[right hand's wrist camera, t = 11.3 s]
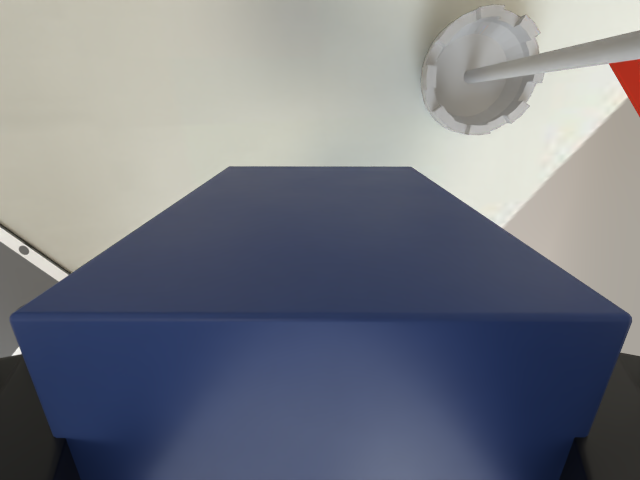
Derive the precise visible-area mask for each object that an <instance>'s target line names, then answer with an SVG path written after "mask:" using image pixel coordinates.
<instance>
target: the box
mask: <svg viewBox="0 0 640 480" xmlns="http://www.w3.org/2000/svg"><path fill="white" fill-rule="evenodd" d="M9 321H10V324H11V327H12V329H13V332H14V334H15V337H16V340H17V342H18V345H19V348H20V350H21V353H22V355H23V358H24V361H25V363H26V366H27V369H28V371H29V374H30V376H31V379H32V382H33V384H34V387H35V390H36V392H37V395H38V397H39V400H40V403H41V405H42V408H43V411H44V413H45V416H46V418H47V421H48V424H49V426H50V429H51V432H52V434H53V436H54V437H56V438H66V441H67V443H68V446H69V449H70V452H71V454H72V457H73V460H74V462H75V465H76V468H77V471H78V473H79V476H80V479H81V480H559V479H560V476H561V473H562V470H563V468H564V465H565V462H566V460H567V457H568V454H569V451H570V449H571V446H572V443H573V440H574V438H575V437H586V436H588V434H589V432H590V429H591V426H592V424H593V421H594V419H595V416H596V413H597V411H598V408H599V406H600V403H601V401H602V398H603V395H604V393H605V390H606V388H607V385H608V382H609V380H610V377H611V375H612V372H613V369H614V367H615V364H616V362H617V359H618V357H619V354H620V351H621V349H622V346H623V344H624V341H625V338H626V336H627V333H628V331H629V328H630V325H631V323H632V317H631V316H630V314H628V313H627V312H625V311H624V310H622V309H621V308H619V307H618V306H616V305H615V304H614V303H612V302H611V301H609V300H608V299H606V298H605V297H603V296H602V295H600V294H599V293H597V292H596V291H594V290H593V289H591V288H590V287H588V286H587V285H585V284H584V283H582V282H581V281H579V280H578V279H576V278H575V277H574V276H572V275H571V274H569V273H568V272H566V271H565V270H563V269H562V268H560V267H559V266H557V265H556V264H554V263H553V262H551V261H550V260H548V259H547V258H545V257H544V256H542V255H541V254H539V253H538V252H537V251H535V250H534V249H532V248H530V247H529V246H528V245H526V244H525V243H523V242H522V241H520V240H519V239H517V238H516V237H514V236H513V235H511V234H510V233H508V232H507V231H505V230H504V229H502V228H501V227H499V226H498V225H497V224H495V223H494V222H492V221H491V220H489V219H488V218H486V217H485V216H483V215H482V214H480V213H479V212H477V211H476V210H474V209H473V208H471V207H470V206H468V205H467V204H465V203H464V202H462V201H461V200H459V199H458V198H457V197H455V196H454V195H452V194H451V193H449V192H448V191H446V190H445V189H443V188H442V187H440V186H439V185H437V184H436V183H434V182H433V181H431V180H430V179H428V178H427V177H425V176H424V175H422V174H421V173H419V172H418V171H417V170H415V169H414V168H412V167H228V168H226V169H225V170H223V171H222V172H220V173H219V174H217V175H216V176H215V177H213V178H212V179H210V180H209V181H207V182H206V183H204V184H203V185H201V186H200V187H198V188H197V189H195V190H194V191H192V192H191V193H189V194H188V195H186V196H185V197H183V198H182V199H181V200H179V201H178V202H176V203H175V204H173V205H172V206H170V207H169V208H167V209H166V210H164V211H163V212H161V213H160V214H158V215H157V216H155V217H154V218H152V219H151V220H149V221H148V222H146V223H145V224H144V225H142V226H141V227H139V228H138V229H136V230H135V231H133V232H132V233H130V234H129V235H127V236H126V237H124V238H123V239H121V240H120V241H118V242H117V243H115V244H114V245H112V246H111V247H110V248H108V249H107V250H105V251H104V252H102V253H101V254H99V255H98V256H96V257H95V258H93V259H92V260H90V261H89V262H87V263H86V264H84V265H83V266H81V267H80V268H78V269H77V270H75V271H74V272H73V273H71V274H70V275H68V276H67V277H65V278H64V279H62V280H61V281H59V282H58V283H56V284H55V285H53V286H52V287H50V288H49V289H47V290H46V291H44V292H43V293H41V294H40V295H39V296H37V297H36V298H34V299H33V300H31V301H30V302H28V303H27V304H25V305H24V306H22V307H21V308H19V309H18V310H16V311H15V312H13V313H12V314H11V316H10V319H9Z"/></svg>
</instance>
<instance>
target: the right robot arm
mask: <svg viewBox="0 0 640 480" xmlns="http://www.w3.org/2000/svg"><path fill="white" fill-rule="evenodd" d="M23 306H24V305H23ZM21 307H22V306H21ZM21 307H20V308H21ZM18 309H19V308H18ZM18 309H17V310H18ZM0 480H81V479H80V476H79V473H78V471H77V468H76V465H75V462H74V460H73V457H72V454H71V452H70V449H69V446H68V443H67V441H66V438H56V437H54V436H53V434H52V432H51V429H50V426H49V424H48V421H47V418H46V416H45V413H44V411H43V408H42V405H41V403H40V400H39V397H38V395H37V392H36V390H35V387H34V384H33V382H32V379H31V376H30V374H29V371H28V369H27V366H26V363H25V361H24V358H23V355H22V354H19V355H14V356H8V357H3V358H0ZM559 480H640V356H635V355H630V354H625V353H620V354H619V357H618V359H617V362H616V364H615V367H614V369H613V372H612V375H611V377H610V380H609V382H608V385H607V388H606V390H605V393H604V395H603V398H602V401H601V403H600V406H599V408H598V411H597V413H596V416H595V419H594V421H593V424H592V426H591V429H590V432H589V434H588V436H586V437H575V438H574V440H573V443H572V446H571V449H570V451H569V454H568V457H567V460H566V462H565V465H564V468H563V470H562V473H561V476H560V479H559Z"/></svg>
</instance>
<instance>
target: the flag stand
mask: <svg viewBox="0 0 640 480" xmlns="http://www.w3.org/2000/svg"><path fill="white" fill-rule="evenodd" d="M504 7H505V5H488V6H482V7H479V8H478V9H476V10H474V11H471V12H469V13H466V14H464V15H462V16H461V17H459V18H458V19H456V20H455V21H453V22H452V23H450V24H449V25H448V26H447V27H446V28H445V29H443V30H442V31H441V32H440V33H439V35H438V36H437V37H436V39H435V40H434V41H433V43H432V45H431V46H430V48H429V50H428V52H427V54H426V57H425V60H424V64H423V67H422V74H421V91H422V95H423V100H424V103H425V105H426V107H427V109H428V111H429V113H430V114H431V115H432V117H433V118H434V119H435V120H436V121H437V122H438V123H439V124H441V125H442V126H443V127H445V128H447V129H449V130H451V131H454V132H458V133H462V134H468V135H483V134H490V131H492V130H495V129H497V128H499V127H501V126H502V125H504V124H506V123H513V122H514V121H515V120H517V119H518V118H519V117H520V116H521V115H522V114H523V113H524V112H525V111H526V110H527V109H528V107H529V106H530V105H528V104H527V103H526V102H527V101H528V99H529V98H530V96H531V94H532V92H533V90H534V87H535V85H536V83H542V81H543V77H544V73H546V72H553V71H560V70H567V69H574V68H581V67H588V66H595V65H602V64H609V65H610V67H611V68H612V70H613V72H614V73H615V75H616V77H617V79H618V80H619V82H620V84H621V86H622V87H623V89H624V91H625V92H626V94H627V96H628V98H629V99H630V101H631V103H632V104H633V106H634V108H635V110H636V111H637V113H638V115H639V117H640V30H639V31H635V32H631V33H626V34H622V35H618V36H614V37H609V38H605V39H601V40H596V41H592V42H588V43H584V44H579V45H575V46H571V47H566V48H562V49H558V50H554V51H549V52H545V53H541V54H539V47H538V44H537V41H536V38H535V37H536V36H537V35H539V34H540V31H539V29H538V28H537V26H536V24H535V23H534V22H533V21H532V20H531V19H530V18H529V17H528V16H527V15H524V16H522V17H519V16H518V15H516V14H514V13H513V12H511V11H508V10H505V9H504Z"/></svg>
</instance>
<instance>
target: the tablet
mask: <svg viewBox="0 0 640 480" xmlns="http://www.w3.org/2000/svg"><path fill="white" fill-rule="evenodd" d="M68 275H70V273H68V272H67V271H65V270H64V269H63V268H61V267H60V266H58V265H57V264H55V263H54V262H53V261H51V260H50V259H48V258H47V257H45V256H44V255H43V254H41V253H40V252H38V251H37V250H35V249H34V248H33V247H31V246H30V245H28V244H27V243H26V242H24V241H23V240H21V239H20V238H18V237H17V236H16V235H14V234H13V233H11V232H10V231H8V230H7V229H6V228H4V227H3V226H1V225H0V358H3V357H8V356H14V355H19V354H22V353H21V350H20V348H19V345H18V342H17V340H16V337H15V334H14V332H13V329H12V327H11V324H10V321H9V319H10V316H11V314H12V313H13V312H15V311H16V310H17V309H18V308H20V307H21V306H23V305H25V304H27V303H28V302H30V301H31V300H33V299H34V298H36V297H37V296H39V295H40V294H41V293H43V292H44V291H46V290H47V289H49V288H50V287H52V286H53V285H55V284H56V283H58V282H59V281H61V280H62V279H64V278H65V277H67V276H68Z"/></svg>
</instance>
